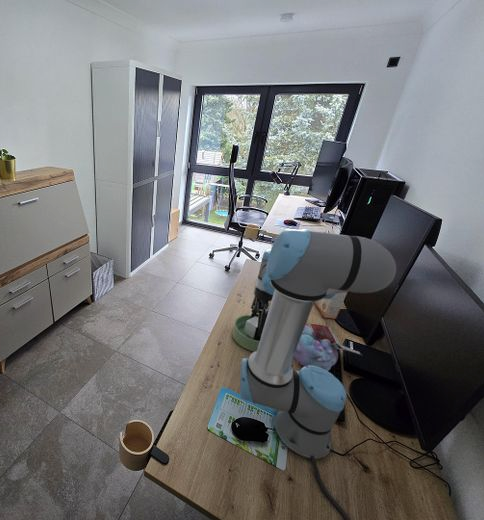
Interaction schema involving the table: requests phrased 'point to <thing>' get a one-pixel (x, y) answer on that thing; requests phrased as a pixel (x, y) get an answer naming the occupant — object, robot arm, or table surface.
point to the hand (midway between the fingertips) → (254, 332)
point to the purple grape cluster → (319, 347)
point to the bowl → (244, 334)
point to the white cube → (251, 326)
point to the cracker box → (331, 305)
